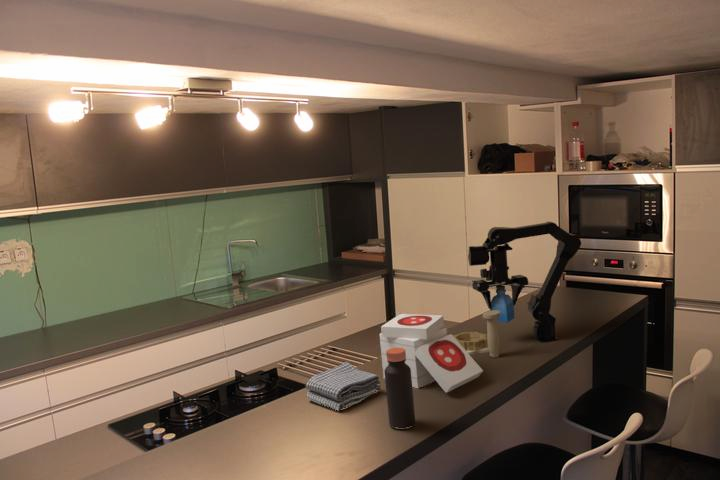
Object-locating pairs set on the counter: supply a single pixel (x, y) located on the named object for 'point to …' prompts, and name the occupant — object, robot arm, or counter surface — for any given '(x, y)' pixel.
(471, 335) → the gear board
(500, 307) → the perfume bottle
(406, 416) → the vinegar
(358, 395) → the towel
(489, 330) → the handle
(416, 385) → the pizza boxes
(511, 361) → the counter surface
